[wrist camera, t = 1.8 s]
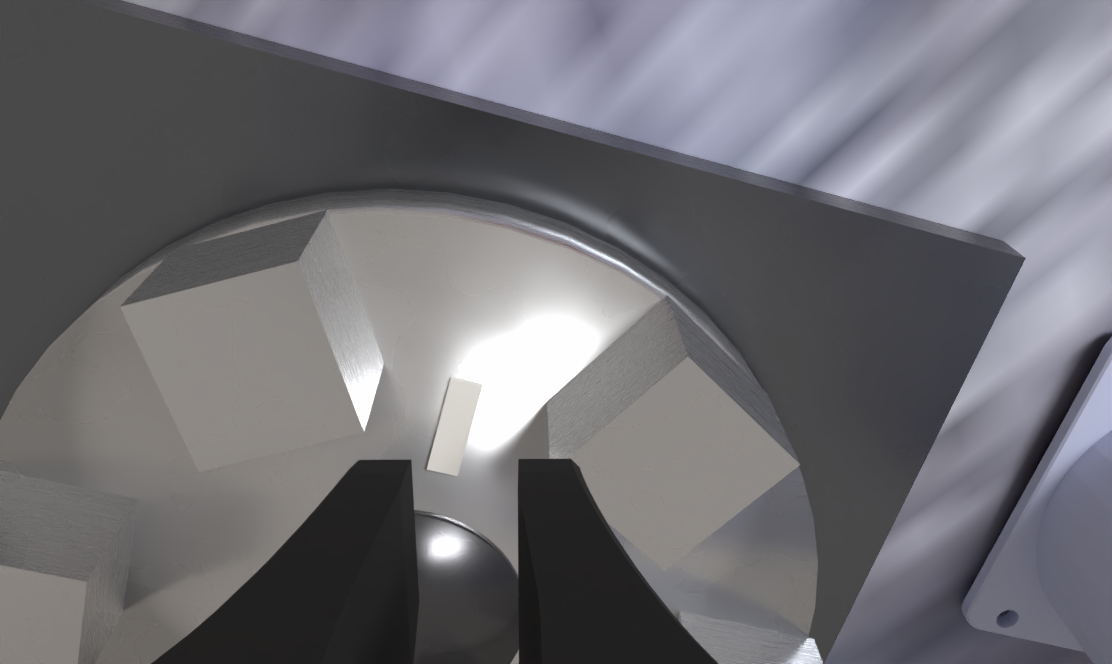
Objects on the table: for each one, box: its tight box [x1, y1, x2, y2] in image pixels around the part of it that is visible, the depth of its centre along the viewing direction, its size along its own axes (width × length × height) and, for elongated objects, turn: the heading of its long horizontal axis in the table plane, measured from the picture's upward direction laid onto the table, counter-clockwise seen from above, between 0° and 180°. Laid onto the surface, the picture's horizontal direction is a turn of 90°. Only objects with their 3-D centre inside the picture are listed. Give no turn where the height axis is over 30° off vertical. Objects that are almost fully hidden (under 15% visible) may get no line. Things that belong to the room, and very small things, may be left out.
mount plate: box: [0, 0, 1025, 664], centre depth 23 cm, size 20×20×1 cm
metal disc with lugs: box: [0, 189, 823, 664], centre depth 20 cm, size 17×17×4 cm
